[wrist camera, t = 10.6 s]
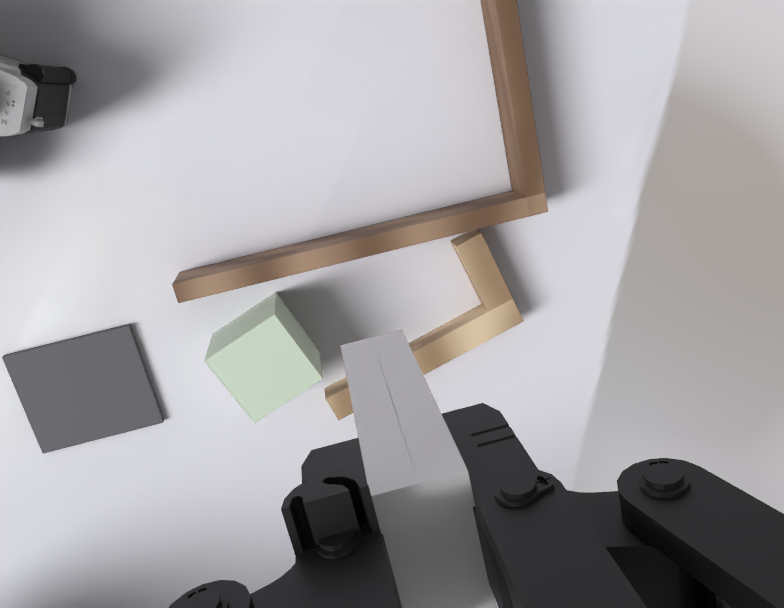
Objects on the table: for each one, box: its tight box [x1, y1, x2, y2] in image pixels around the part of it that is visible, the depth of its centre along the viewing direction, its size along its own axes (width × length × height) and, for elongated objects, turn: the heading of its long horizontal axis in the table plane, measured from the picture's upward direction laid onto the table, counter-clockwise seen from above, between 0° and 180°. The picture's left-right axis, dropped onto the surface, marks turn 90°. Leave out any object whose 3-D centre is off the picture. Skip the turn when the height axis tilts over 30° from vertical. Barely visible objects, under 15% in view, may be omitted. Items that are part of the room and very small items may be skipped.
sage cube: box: [204, 292, 323, 423], centre depth 45 cm, size 5×5×5 cm
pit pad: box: [2, 324, 164, 453], centre depth 46 cm, size 8×7×1 cm
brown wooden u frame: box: [172, 0, 548, 303], centre depth 41 cm, size 23×22×3 cm
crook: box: [325, 229, 523, 420], centre depth 47 cm, size 14×7×2 cm, turn 117°
